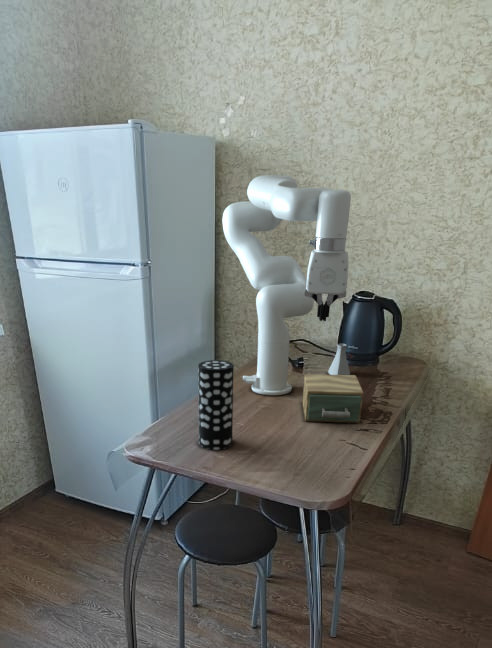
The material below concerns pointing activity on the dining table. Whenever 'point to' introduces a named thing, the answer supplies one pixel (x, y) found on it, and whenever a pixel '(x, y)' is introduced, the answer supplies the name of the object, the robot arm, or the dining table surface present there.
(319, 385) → the cabinet
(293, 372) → the dining table surface
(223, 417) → the white-spotted black cylinder
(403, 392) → the dining table surface
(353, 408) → the drawer
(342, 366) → the flask
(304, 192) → the robot arm
